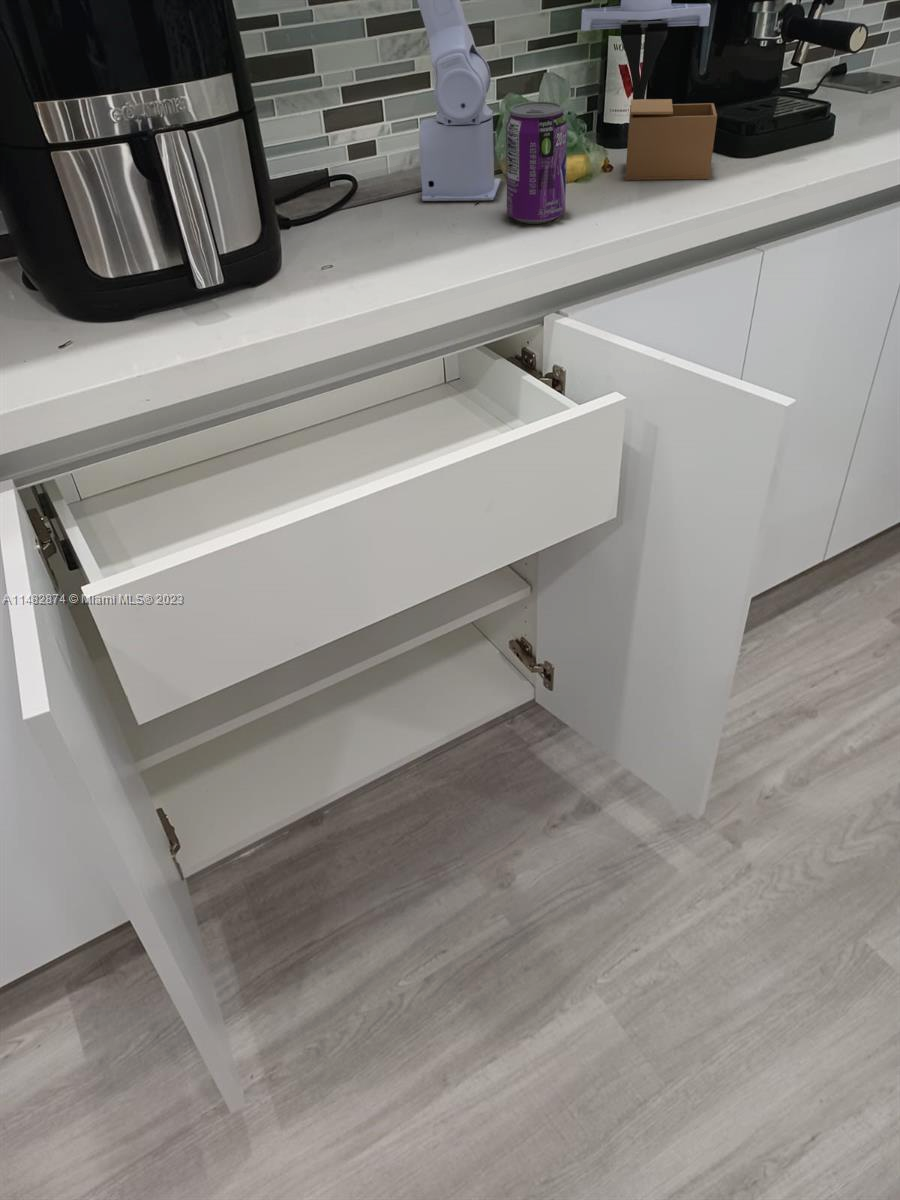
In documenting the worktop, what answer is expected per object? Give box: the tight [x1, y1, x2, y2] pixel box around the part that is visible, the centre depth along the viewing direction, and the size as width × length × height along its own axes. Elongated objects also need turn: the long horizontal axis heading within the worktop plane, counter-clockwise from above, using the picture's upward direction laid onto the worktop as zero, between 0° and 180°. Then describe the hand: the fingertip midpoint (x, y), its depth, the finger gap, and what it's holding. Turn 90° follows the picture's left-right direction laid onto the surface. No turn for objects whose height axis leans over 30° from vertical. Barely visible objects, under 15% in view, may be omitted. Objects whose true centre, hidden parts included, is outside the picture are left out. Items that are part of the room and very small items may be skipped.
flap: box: [630, 98, 673, 114], centre depth 112 cm, size 5×7×1 cm
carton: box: [624, 102, 718, 181], centre depth 115 cm, size 11×7×7 cm, turn 81°
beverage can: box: [505, 100, 568, 225], centre depth 103 cm, size 7×7×12 cm
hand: (638, 97), depth 106 cm, fingers closed
